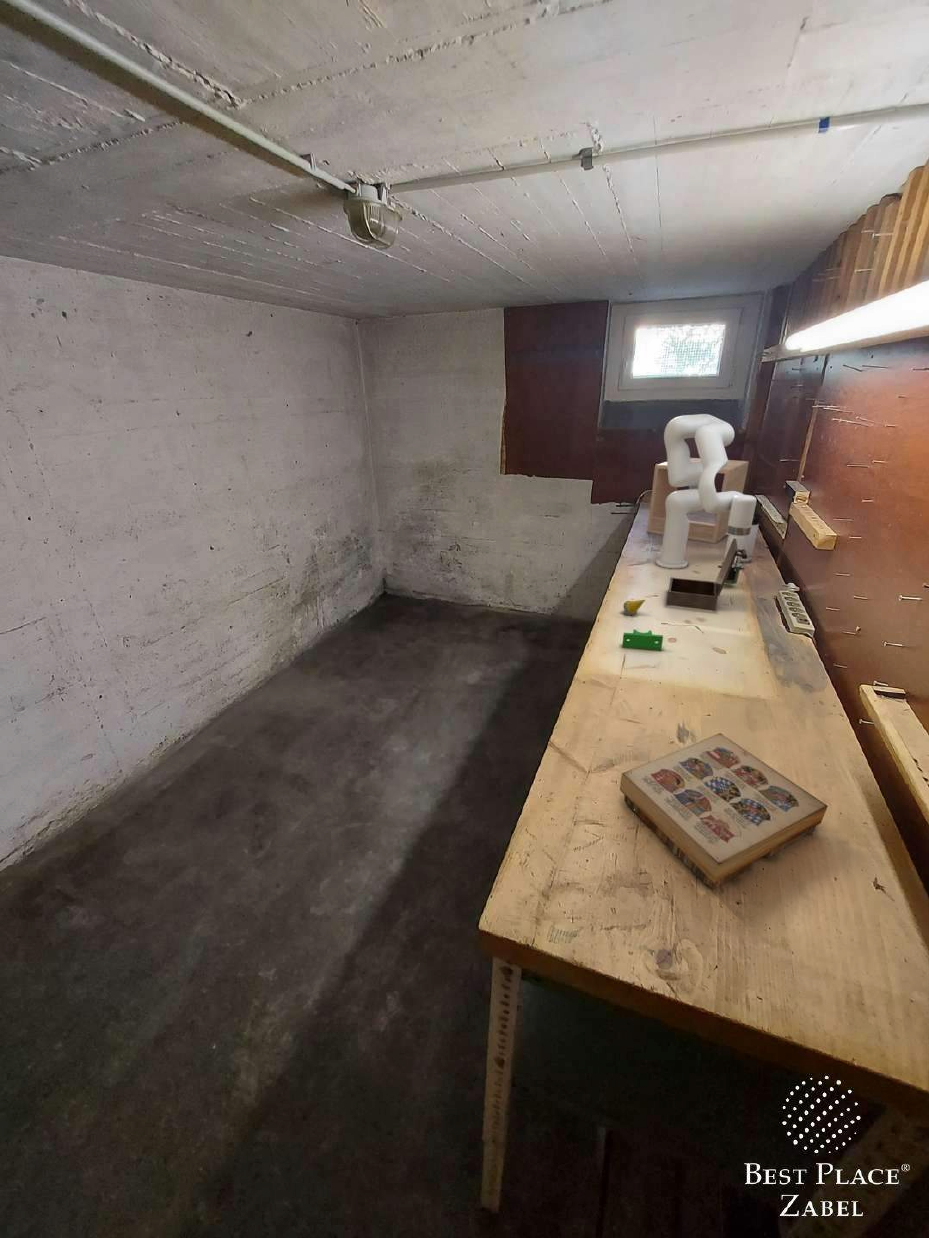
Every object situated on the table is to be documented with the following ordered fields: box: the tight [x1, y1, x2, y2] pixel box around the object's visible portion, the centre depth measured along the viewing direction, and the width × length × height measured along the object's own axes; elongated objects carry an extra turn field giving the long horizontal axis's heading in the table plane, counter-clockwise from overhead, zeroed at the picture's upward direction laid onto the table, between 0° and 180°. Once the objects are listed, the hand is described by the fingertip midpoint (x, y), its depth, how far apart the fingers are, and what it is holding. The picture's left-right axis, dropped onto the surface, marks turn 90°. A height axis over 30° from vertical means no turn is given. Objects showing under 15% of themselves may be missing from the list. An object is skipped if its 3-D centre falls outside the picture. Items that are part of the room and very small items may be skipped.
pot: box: [717, 561, 745, 585], centre depth 182 cm, size 9×7×7 cm
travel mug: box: [739, 514, 762, 564], centre depth 206 cm, size 6×7×20 cm
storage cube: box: [646, 457, 750, 544], centre depth 246 cm, size 34×29×34 cm
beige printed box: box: [619, 732, 828, 890], centre depth 90 cm, size 25×6×28 cm
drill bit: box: [623, 599, 646, 617], centre depth 165 cm, size 5×5×10 cm
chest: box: [665, 577, 719, 612], centre depth 173 cm, size 16×15×6 cm
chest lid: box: [715, 538, 747, 597], centre depth 164 cm, size 16×15×5 cm
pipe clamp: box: [621, 628, 664, 651], centre depth 146 cm, size 11×4×5 cm, turn 76°
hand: (729, 576), depth 182 cm, fingers closed on pot, 6 cm apart
